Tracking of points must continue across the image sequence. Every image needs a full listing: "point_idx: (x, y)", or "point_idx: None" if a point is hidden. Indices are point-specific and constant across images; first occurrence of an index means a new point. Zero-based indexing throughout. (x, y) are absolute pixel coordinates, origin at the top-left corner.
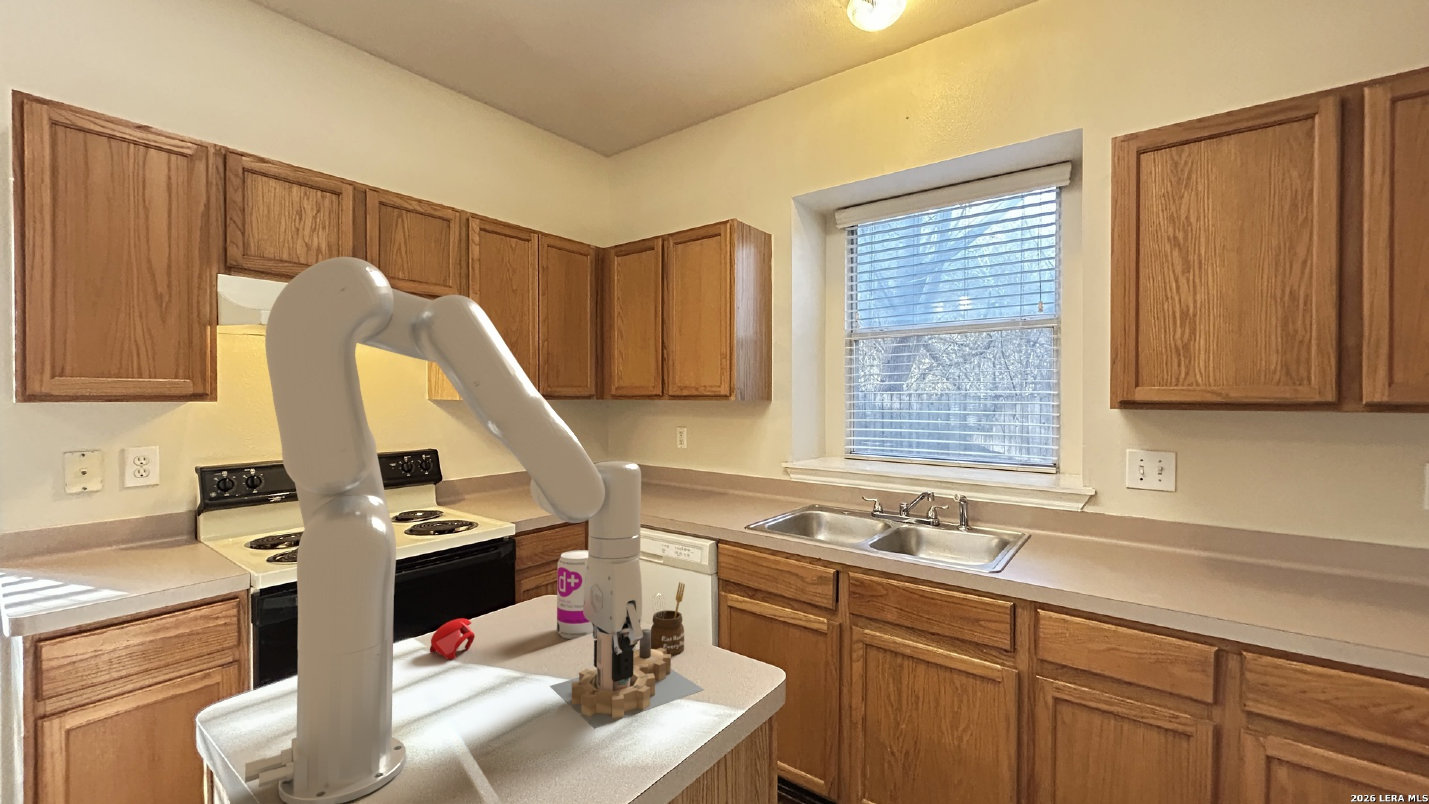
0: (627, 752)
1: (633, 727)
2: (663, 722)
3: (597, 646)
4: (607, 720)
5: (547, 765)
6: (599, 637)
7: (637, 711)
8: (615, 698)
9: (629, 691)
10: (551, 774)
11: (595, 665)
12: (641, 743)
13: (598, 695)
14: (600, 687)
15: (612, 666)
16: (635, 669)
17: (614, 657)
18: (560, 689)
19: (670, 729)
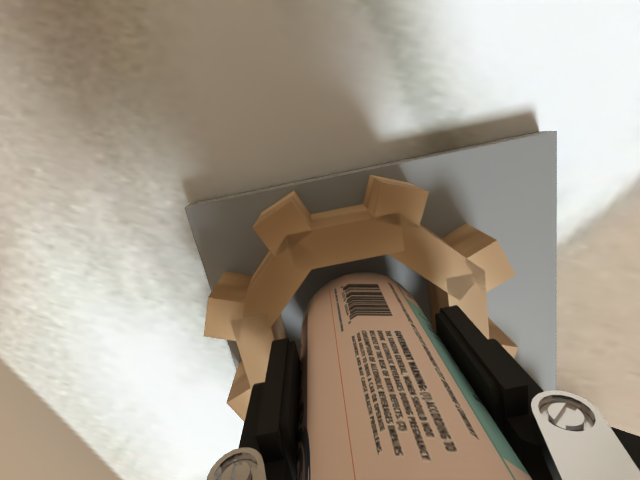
0: (76, 263)
1: (201, 312)
2: (198, 385)
3: (430, 380)
4: (216, 255)
5: (67, 21)
6: (398, 447)
7: (237, 346)
8: (214, 310)
9: (251, 365)
10: (12, 23)
11: (444, 311)
12: (111, 308)
13: (268, 261)
14: (342, 285)
15: (275, 377)
16: None
17: (260, 421)
18: (504, 162)
19: (157, 389)
